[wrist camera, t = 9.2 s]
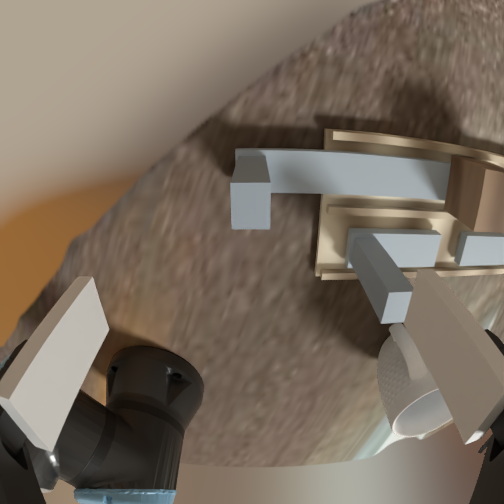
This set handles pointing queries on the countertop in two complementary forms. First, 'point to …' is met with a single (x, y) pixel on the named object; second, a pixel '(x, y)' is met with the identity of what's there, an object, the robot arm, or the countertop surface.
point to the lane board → (392, 206)
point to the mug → (408, 387)
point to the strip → (326, 178)
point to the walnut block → (476, 194)
